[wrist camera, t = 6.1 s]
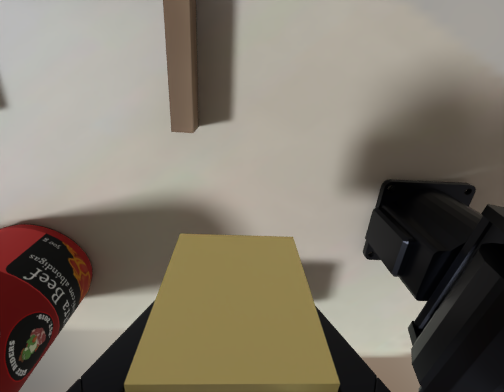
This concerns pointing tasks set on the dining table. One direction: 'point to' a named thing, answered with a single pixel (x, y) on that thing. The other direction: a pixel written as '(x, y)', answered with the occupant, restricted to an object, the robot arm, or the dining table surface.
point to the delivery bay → (182, 63)
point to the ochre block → (233, 322)
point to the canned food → (36, 296)
